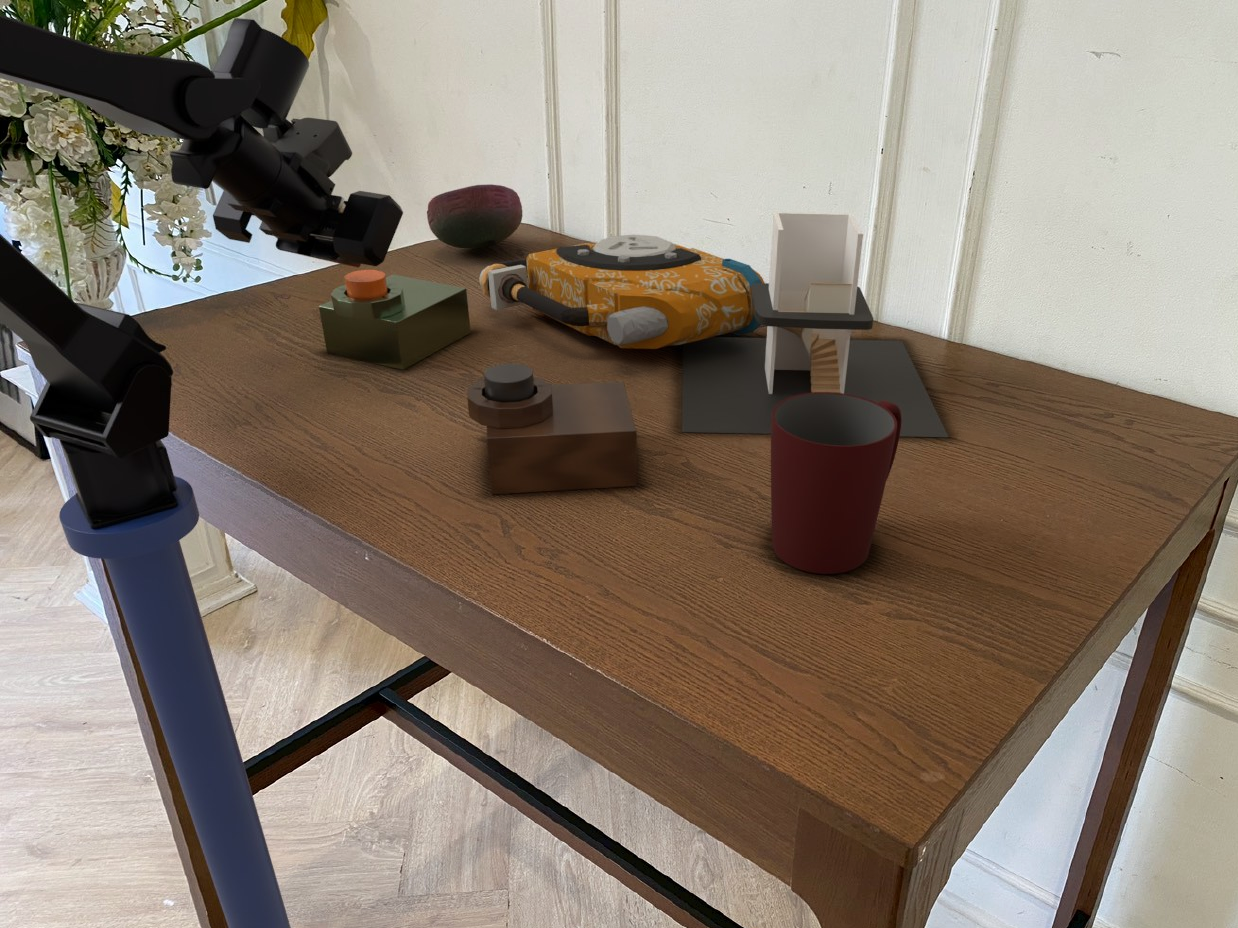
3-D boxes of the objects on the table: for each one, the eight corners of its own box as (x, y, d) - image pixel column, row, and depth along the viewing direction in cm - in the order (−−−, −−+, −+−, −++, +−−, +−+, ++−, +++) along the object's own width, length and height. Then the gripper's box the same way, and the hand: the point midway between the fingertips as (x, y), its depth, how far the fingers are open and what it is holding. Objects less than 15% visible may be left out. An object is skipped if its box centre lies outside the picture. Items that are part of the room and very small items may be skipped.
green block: (394, 375, 103) (384, 309, 99) (317, 357, 106) (305, 293, 103) (470, 332, 114) (465, 271, 110) (398, 318, 117) (390, 258, 113)
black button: (485, 406, 82) (483, 383, 81) (485, 386, 85) (483, 364, 84) (535, 404, 83) (533, 381, 82) (533, 384, 86) (532, 362, 85)
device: (607, 307, 96) (459, 241, 116) (610, 387, 100) (467, 310, 120) (781, 265, 108) (620, 212, 128) (777, 339, 113) (622, 276, 133)
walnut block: (473, 495, 83) (465, 418, 79) (475, 440, 91) (468, 368, 88) (636, 486, 85) (636, 410, 81) (624, 433, 93) (623, 362, 90)
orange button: (370, 304, 102) (367, 284, 101) (339, 297, 103) (336, 278, 102) (396, 292, 105) (393, 273, 104) (365, 286, 106) (362, 267, 105)
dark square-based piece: (681, 432, 94) (685, 258, 85) (683, 336, 115) (685, 188, 106) (948, 437, 94) (979, 264, 86) (902, 341, 115) (922, 194, 106)
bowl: (542, 227, 133) (531, 169, 134) (446, 224, 126) (436, 164, 127) (503, 272, 147) (493, 220, 147) (415, 272, 140) (406, 217, 141)
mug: (840, 494, 85) (855, 372, 79) (926, 538, 79) (949, 410, 73) (738, 544, 78) (746, 413, 72) (825, 595, 72) (840, 459, 66)
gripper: (373, 101, 85) (463, 204, 100) (208, 82, 92) (315, 181, 106) (325, 217, 83) (423, 305, 98) (159, 189, 90) (275, 276, 104)
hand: (358, 262), depth 102 cm, fingers closed
